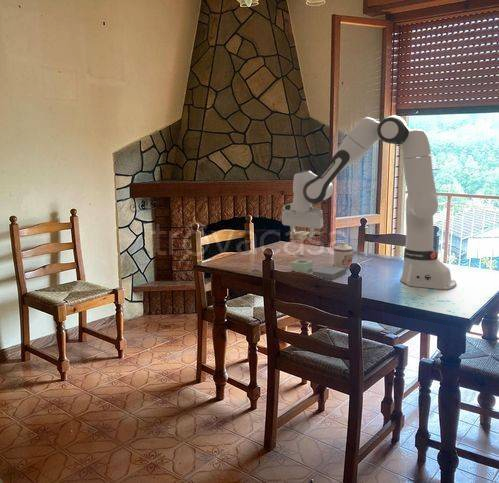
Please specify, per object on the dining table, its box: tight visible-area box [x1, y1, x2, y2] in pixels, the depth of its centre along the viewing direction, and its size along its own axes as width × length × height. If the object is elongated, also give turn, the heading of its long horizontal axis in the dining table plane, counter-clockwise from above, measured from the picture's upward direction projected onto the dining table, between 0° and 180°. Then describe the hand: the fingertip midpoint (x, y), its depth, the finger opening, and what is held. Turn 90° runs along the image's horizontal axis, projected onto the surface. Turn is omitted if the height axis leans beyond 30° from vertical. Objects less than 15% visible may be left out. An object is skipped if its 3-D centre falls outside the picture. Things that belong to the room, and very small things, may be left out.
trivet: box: [312, 265, 347, 281], centre depth 235 cm, size 10×13×2 cm
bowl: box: [291, 258, 314, 274], centre depth 242 cm, size 7×7×4 cm
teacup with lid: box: [333, 241, 355, 269], centre depth 250 cm, size 12×9×12 cm
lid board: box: [289, 230, 315, 241], centre depth 239 cm, size 6×10×2 cm, turn 144°
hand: (302, 236), depth 240 cm, fingers closed on lid board, 6 cm apart
